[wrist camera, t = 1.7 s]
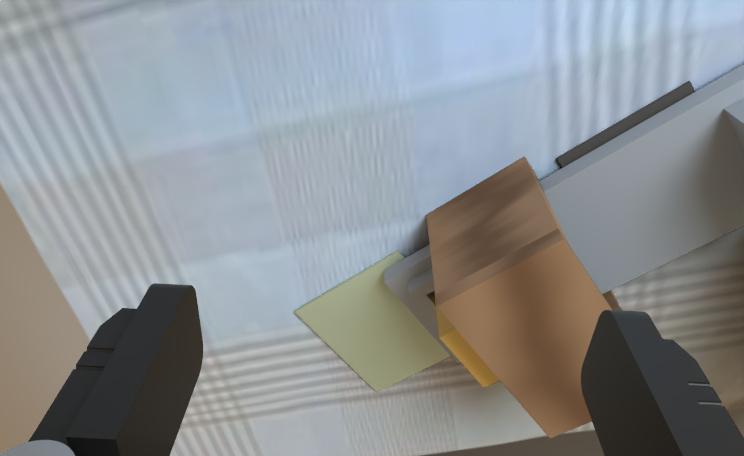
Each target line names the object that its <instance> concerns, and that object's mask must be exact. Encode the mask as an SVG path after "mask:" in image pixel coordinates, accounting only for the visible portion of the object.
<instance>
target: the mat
mask: <svg viewBox="0 0 744 456" xmlns="http://www.w3.org/2000/svg"><path fill="white" fill-rule="evenodd" d="M403 259H405V257H404V256H403V255H402V254H401V253H400V252H399V250H398V251H396V252H394V253H393V254H391V255H389V256H387V257H386V258H384V259H382V260H381V261H379V262H377V263H375V264H374V265H372V266H370V267H369V268H367V269H365V270H363V271H362V272H360V273H358V274H357V275H355V276H353V277H351V278H350V279H348V280H346V281H344V282H343V283H341V284H339V285H338V286H336V287H334V288H332V289H331V290H329V291H327V292H326V293H324V294H322V295H320V296H319V297H317V298H315V299H314V300H312V301H310V302H308V303H307V304H305V305H303V306H302V307H300V308H298V309H296V310H295V313H296V314H297V315H298V316H299V317H300V318H301V319H302V320H303V321H304V322H305V323H306V324H307V325H308V326H309V327H310V328H311V329H312V330H313V331H314V332H315V333H316V334H317V335H318V336H319V337H320V338H321V339H322V340H323V341H324V342H326V343H327V344H328V345H329V346H330V347H331V348H332V349H333V350H334V351H335V352H336V353H337V354H338V355H339V356H340V357H341V358H342V359H343V360H344V361H345V362H346V363H347V364H348V365H349V366H350V367H351V368H352V369H353V370H354V371H355V372H356V373H357V374H359V375H360V376H361V377H362V378H363V379H364V380H365V381H366V382H367V383H368V384H369V385H370V386H371V387H372V388H373V389H374V390H375V391H376V392H379V391H381V390H383V389H385V388H387V387H389V386H391V385H393V384H395V383H397V382H399V381H401V380H403V379H405V378H407V377H410V376H412V375H414V374H416V373H418V372H420V371H422V370H424V369H426V368H428V367H430V366H432V365H434V364H436V363H438V362H440V361H442V360H444V359H446V358H448V357H450V355H449V354H448V353H447V352H446V351H445V349H444V348H443V347H442V346H441V345H440V344H439V343H438V342H437V340H436V339H435V338H434V337H433V336H432V335H431V334H430V333H429V332H428V330H427V329H426V328H425V327H424V326H423V325H422V324H421V323H420V322H419V320H418V319H417V318H416V317H415V316H414V315H413V314H412V313H411V311H410V310H409V309H408V308H407V307H406V306H405V305H404V304H403V303H402V301H401V300H400V299H399V298H398V297H397V296H396V295H395V294H394V292H393V291H392V290H391V289H390V288H389V287H388V286H387V285H386V284H385V282H384V270H385V269H387V268H389V267H391V266H392V265H394V264H396V263H398V262H399V261H401V260H403Z"/></svg>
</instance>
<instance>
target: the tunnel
mask: <svg viewBox="0 0 744 456" xmlns="http://www.w3.org/2000/svg"><path fill="white" fill-rule="evenodd" d="M426 217H427V226H428V235H429V244H430V252H431V261H432V270H433V279H434V288H435V297H436V306H437V308H438V309H439V310H440V311H441V312H442V313H443V315H444V316H445V317H446V318H447V319H448V320H449V322H450V323H451V324H452V325H453V326H454V327H455V329H456V330H457V331H458V332H459V333H460V334H461V336H462V337H463V338H464V339H465V340H466V341H467V342H468V344H469V345H470V346H471V347H472V348H473V349H474V351H475V352H476V353H477V354H478V355H479V356H480V358H481V359H482V360H483V361H484V362H485V363H486V365H487V366H488V367H489V368H490V369H491V370H492V372H493V373H494V374H495V375H496V376H497V377H498V379H499V380H500V381H501V382H502V383H503V384H504V385H505V387H506V388H507V389H508V390H509V391H510V392H511V394H512V395H513V396H514V397H515V398H516V399H517V401H518V402H519V403H520V404H521V405H522V406H523V408H524V409H525V410H526V411H527V412H528V413H529V415H530V416H531V417H532V418H533V419H534V420H535V421H536V423H537V424H538V425H539V426H540V427H541V428H542V430H543V431H544V432H545V433H546V434H547V435H548V437H549V438H552V437H555V436H557V435H559V434H562V433H564V432H567V431H569V430H572V429H574V428H577V427H579V426H582V425H584V424H586V423H589V422H591V421H592V419H591V417H590V414H589V411H588V408H587V406H586V403H585V400H584V397H583V394H582V388H581V369H582V365H583V362H584V359H585V356H586V353H587V350H588V347H589V344H590V341H591V339H592V336H593V333H594V330H595V327H596V324H597V321H598V318H599V316H600V314H601V313H602V312H603V311H604V310H618V311H622V310H621V308H620V306H619V304H618V302H617V300H616V298H615V296H614V295H613V293H612V291H611V290H610V291H608V292H606V293H604V294H602V293H601V292H600V290H599V289H598V287H597V286H596V284H595V283H594V281H593V280H592V278H591V277H590V275H589V274H588V272H587V271H586V269H585V268H584V266H583V265H582V263H581V262H580V260H579V259H578V257H577V256H576V254H575V253H574V251H573V250H572V248H571V247H570V245H569V243H568V241H567V239H566V237H565V235H564V233H563V231H562V228H561V226H560V224H559V222H558V220H557V218H556V216H555V214H554V212H553V210H552V208H551V205H550V203H549V201H548V199H547V197H546V195H545V193H544V191H543V189H542V187H541V185H540V183H539V180H538V178H537V176H536V174H535V172H534V170H533V169H532V167H531V166H530V164H529V163H528V161H527V159H526V158H525V157H523V158H521V159H519V160H518V161H516V162H514V163H513V164H511V165H509V166H508V167H506V168H504V169H503V170H501V171H499V172H498V173H496V174H494V175H493V176H491V177H489V178H488V179H486V180H484V181H482V182H481V183H479V184H477V185H476V186H474V187H472V188H471V189H469V190H467V191H466V192H464V193H462V194H461V195H459V196H457V197H456V198H454V199H452V200H451V201H449V202H447V203H446V204H444V205H442V206H440V207H439V208H437V209H435V210H434V211H432V212H430V213H429V214H427V215H426Z"/></svg>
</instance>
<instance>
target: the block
mask: <svg viewBox="0 0 744 456" xmlns="http://www.w3.org/2000/svg"><path fill="white" fill-rule="evenodd" d="M434 293H435V290H434ZM435 302H436V297H435ZM436 311H437V320H438V329H439V338H440V339H441V340H442V341H443V342H444V344H445V345H446V346H447V347H448V348H449V349H450V350H451V351H452V353H453V354H454V355H455V356H456V357H457V358H458V359H459V360H460V362H461V363H462V364H463V365H464V366H465V367H466V368H467V369H468V371H469V372H470V373H471V374H472V375H473V376H474V377H475V378H476V380H477V381H478V382H479V383H480V384H481V385H482V386H483V387H487V386H489V385H491V384H493V383H495V382H497V381H500V380H499V379H498V377H497V376H496V375H495V374H494V373H493V372H492V370H491V369H490V368H489V367H488V366H487V365H486V363H485V362H484V361H483V360H482V359H481V358H480V356H479V355H478V354H477V353H476V352H475V351H474V349H473V348H472V347H471V346H470V345H469V344H468V342H467V341H466V340H465V339H464V338H463V337H462V336H461V334H460V333H459V332H458V331H457V330H456V329H455V327H454V326H453V325H452V324H451V323H450V322H449V320H448V319H447V318H446V317H445V316H444V315H443V313H442V312H441V311H440V310H439V309H438V308H437V306H436Z"/></svg>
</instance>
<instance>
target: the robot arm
mask: <svg viewBox="0 0 744 456" xmlns="http://www.w3.org/2000/svg"><path fill="white" fill-rule="evenodd" d="M202 358H203V340H202V333H201V326H200V319H199V312H198V305H197V298H196V292H195V289H194V287H193V286H191V285H174V284H156V283H155V284H152V285H151V286H150V287H149V289H148V290H147V292H146V294H145V296H144V298H143V299H142V301H141V303H140V305H139V307H138V308H137V309H129V308H122V309H121V310H120V311H118V312H117V313H116V314H115V315H113V316H112V317H111V318H110V319H108V320H107V321H106V322H105V323H103V324H102V325H101V326H100V327H99V329H98V330H97V332H96V334H95V335H94V337H93V338H92V340H91V342H90V343H89V345H88V347H87V351H86V352H84V353H83V355H82V356H81V358H80V360H79V361H78V363H77V364H76V369H75V370H73V371H72V372H71V374H70V376H69V377H68V379H67V381H66V382H65V384H64V386H63V387H62V389H61V390H60V392H59V393H58V395H57V397H56V398H55V400H54V402H53V403H52V405H51V406H50V408H49V410H48V411H47V413H46V415H45V416H44V418H43V419H42V421H41V423H40V424H39V426H38V427H37V429H36V431H35V432H34V434H33V435H32V437H31V438H30V440H29V441H28V442H27V443H24V444H21V445H18V446H15V447H13V448H11V449H9V450H7V451H5V452H3V453H2V454H0V456H169V455H170V453H171V450H172V447H173V444H174V442H175V439H176V436H177V434H178V431H179V428H180V425H181V423H182V420H183V417H184V415H185V412H186V409H187V406H188V404H189V401H190V398H191V395H192V393H193V390H194V387H195V385H196V382H197V379H198V376H199V373H200V370H201V365H202ZM709 384H710V382H709V381H708V379H707V378H706V376H705V374H704V373H703V371H702V370H701V368H700V366H699V365H698V363H697V361H696V360H695V359H694V358H693V357H692V356H690V355H689V354H688V353H687V352H686V351H685V350H684V349H683V348H681V347H680V346H679V345H678V344H677V343H676V342H675V341H674V340H665V339H662V337H661V335H660V334H659V332H658V330H657V328H656V327H655V325H654V323H653V322H652V320H651V318H650V317H649V315H648V314H647V313H645V312H636V311H618V310H604V311H603V312H602V313H601V314H600V316H599V318H598V321H597V324H596V327H595V330H594V333H593V336H592V339H591V341H590V344H589V347H588V350H587V353H586V356H585V359H584V362H583V365H582V369H581V388H582V394H583V397H584V400H585V403H586V406H587V408H588V411H589V414H590V417H591V419H592V422H593V425H594V428H595V430H596V433H597V436H598V438H599V441H600V444H601V447H602V449H603V452H604V455H605V456H744V438H743V436H742V434H741V433H740V431H739V430H738V428H737V427H736V425H735V423H734V421H733V420H732V418H731V417H730V415H729V413H728V412H727V410H726V408H725V407H724V406H721V400H720V399H719V397H718V395H717V394H716V392H715V391H714V389H713V387H710V386H709Z"/></svg>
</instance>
